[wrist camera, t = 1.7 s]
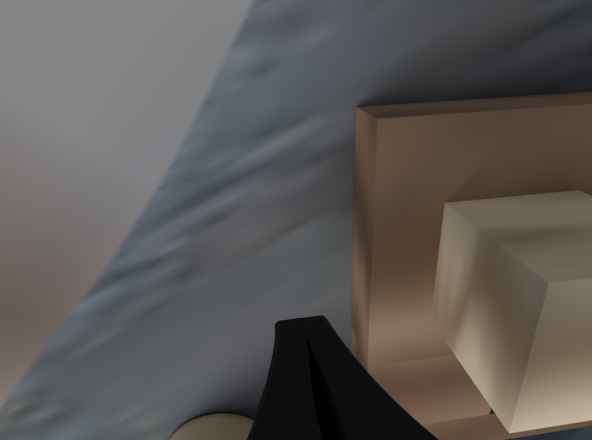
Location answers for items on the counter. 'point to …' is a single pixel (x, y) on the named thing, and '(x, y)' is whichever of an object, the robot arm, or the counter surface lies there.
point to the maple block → (520, 303)
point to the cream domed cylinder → (215, 428)
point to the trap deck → (428, 224)
